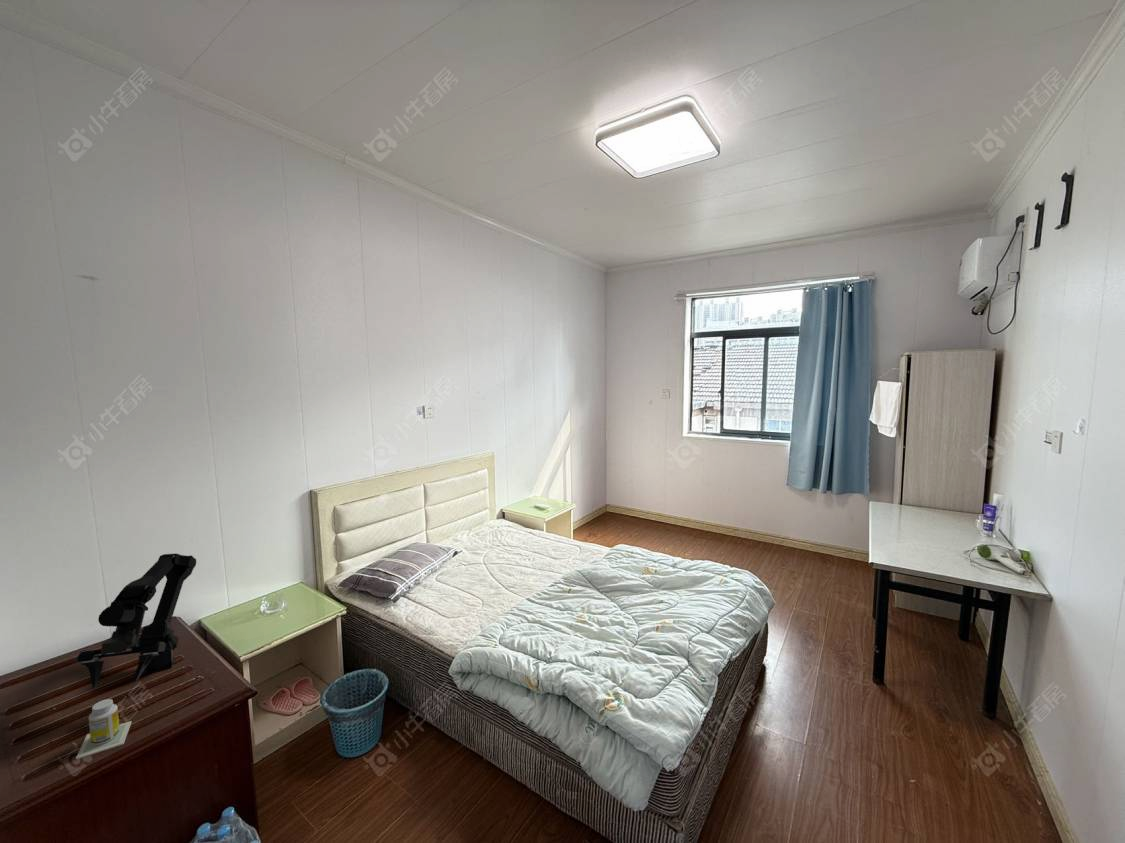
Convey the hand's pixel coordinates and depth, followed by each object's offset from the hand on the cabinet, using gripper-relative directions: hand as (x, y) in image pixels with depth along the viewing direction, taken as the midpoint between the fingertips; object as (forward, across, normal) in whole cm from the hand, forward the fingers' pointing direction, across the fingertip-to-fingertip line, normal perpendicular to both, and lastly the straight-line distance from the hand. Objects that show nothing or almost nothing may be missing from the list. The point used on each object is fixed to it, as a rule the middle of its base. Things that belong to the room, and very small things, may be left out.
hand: (115, 684), depth 128 cm
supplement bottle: (+13, +2, -3) cm, 14 cm away
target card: (+14, +2, -3) cm, 14 cm away
